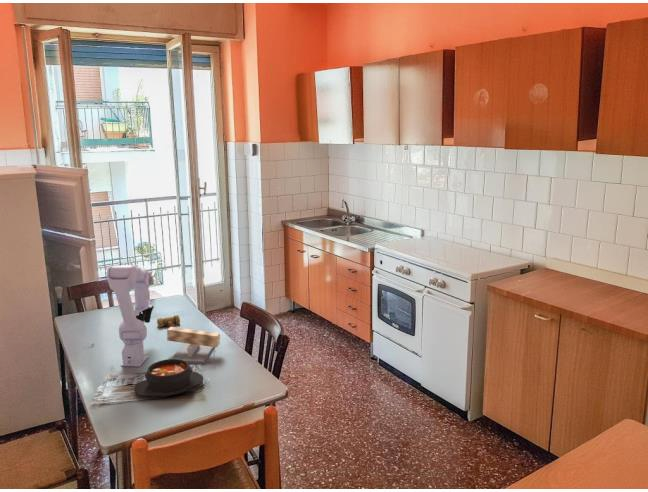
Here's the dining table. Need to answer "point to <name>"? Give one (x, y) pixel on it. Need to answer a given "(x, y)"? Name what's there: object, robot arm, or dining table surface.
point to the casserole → (168, 378)
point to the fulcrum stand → (193, 353)
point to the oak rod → (193, 336)
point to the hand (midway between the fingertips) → (143, 325)
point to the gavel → (168, 321)
